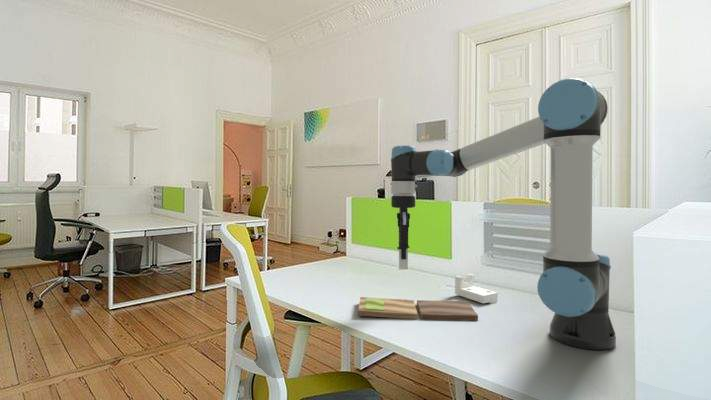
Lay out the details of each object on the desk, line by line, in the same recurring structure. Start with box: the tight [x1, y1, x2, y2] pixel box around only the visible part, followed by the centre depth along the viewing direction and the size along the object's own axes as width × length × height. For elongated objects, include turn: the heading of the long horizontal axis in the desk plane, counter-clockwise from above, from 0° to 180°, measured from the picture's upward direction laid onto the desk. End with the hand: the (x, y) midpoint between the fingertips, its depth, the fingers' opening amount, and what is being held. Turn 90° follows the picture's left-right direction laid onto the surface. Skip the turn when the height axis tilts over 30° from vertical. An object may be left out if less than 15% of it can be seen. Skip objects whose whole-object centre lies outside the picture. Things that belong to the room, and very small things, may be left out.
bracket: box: [454, 273, 499, 304], centre depth 138 cm, size 13×7×8 cm, turn 31°
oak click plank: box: [357, 296, 418, 320], centre depth 125 cm, size 14×18×2 cm
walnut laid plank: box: [416, 299, 479, 321], centre depth 124 cm, size 14×17×2 cm
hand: (403, 268), depth 124 cm, fingers closed
